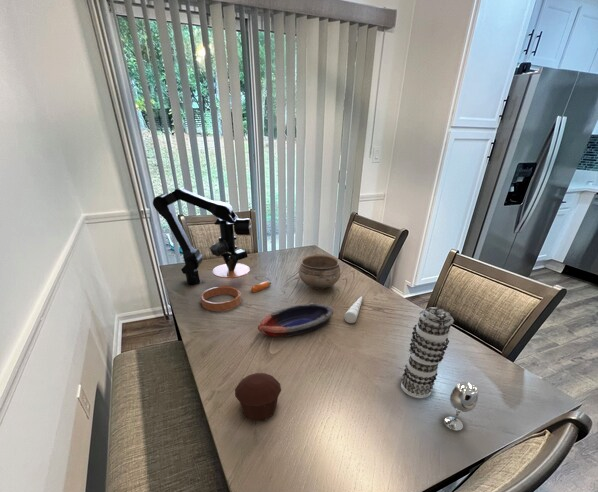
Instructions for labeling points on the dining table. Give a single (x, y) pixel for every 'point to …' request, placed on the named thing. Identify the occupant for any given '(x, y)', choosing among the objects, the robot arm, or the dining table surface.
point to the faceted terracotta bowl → (222, 305)
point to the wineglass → (461, 403)
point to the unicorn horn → (353, 311)
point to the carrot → (260, 286)
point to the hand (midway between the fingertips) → (231, 269)
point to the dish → (295, 320)
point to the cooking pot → (319, 270)
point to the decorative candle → (426, 351)
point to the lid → (231, 271)
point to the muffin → (258, 395)
